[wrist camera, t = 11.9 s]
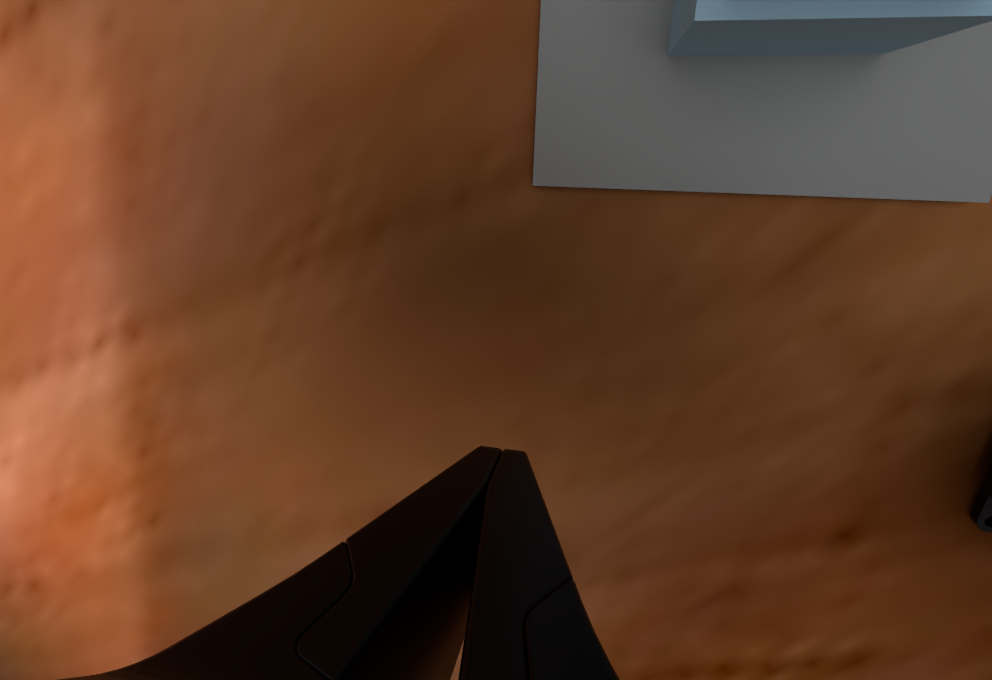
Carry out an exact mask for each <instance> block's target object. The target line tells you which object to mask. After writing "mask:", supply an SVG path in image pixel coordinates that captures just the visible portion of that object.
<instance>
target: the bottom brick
mask: <svg viewBox="0 0 992 680" xmlns="http://www.w3.org/2000/svg"><path fill="white" fill-rule="evenodd" d="M990 21H992V0H674V7H673V14H672V22H671V30H670V38H669V46H668V54H667V56H713V55H880V54H886V53H889V52H892V51H896V50H899V49H902V48H905V47H909V46H912V45H915V44H918V43H922V42H925V41H928V40H931V39H935V38H938V37H941V36H945V35H948V34H951V33H954V32H958V31H961V30H964V29H967V28H971V27H974V26H977V25H980V24H984V23H987V22H990Z"/></svg>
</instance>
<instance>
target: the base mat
mask: <svg viewBox="0 0 992 680" xmlns="http://www.w3.org/2000/svg"><path fill="white" fill-rule="evenodd" d="M673 7H674V0H541V11H540V33H539V55H538V77H537V100H536V122H535V144H534V166H533V186H555V187H582V188H608V189H635V190H662V191H689V192H715V193H742V194H769V195H795V196H822V197H849V198H876V199H902V200H929V201H956V202H982V203H989V201H990V198H991V196H992V21H990V22H987V23H984V24H980V25H977V26H974V27H971V28H967V29H964V30H961V31H958V32H954V33H951V34H948V35H945V36H941V37H938V38H935V39H931V40H928V41H925V42H922V43H918V44H915V45H912V46H909V47H905V48H902V49H899V50H896V51H892V52H889V53H886V54H880V55H713V56H667V54H668V46H669V38H670V30H671V22H672V14H673Z"/></svg>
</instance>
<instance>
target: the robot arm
mask: <svg viewBox="0 0 992 680" xmlns="http://www.w3.org/2000/svg"><path fill="white" fill-rule="evenodd" d="M991 516H992V467H991V469H990V472H989V474H988V476H987V478H986V480H985V483H984V485H983V487H982V489H981V491H980V494H979V496H978V498H977V500H976V502H975V504H974V507H973V509H972V511H971V514H970V518H971V520H972V521H973V522H974V523H975V524H976V525H977V527H978V528H980V529H981V530H982V531H986V532H991V533H992V517H991ZM988 517H991V518H990V519H988V520H986V519H987V518H988ZM464 637H465V638H464ZM463 640H464V645H463V652H462V659H461V666H460V672H459V679H458V680H619V678H618V676H617V674H616V673H615V671H614V669H613V667H612V665H611V663H610V661H609V659H608V657H607V655H606V653H605V651H604V649H603V647H602V645H601V643H600V641H599V639H598V637H597V635H596V633H595V631H594V629H593V627H592V624H591V622H590V620H589V617H588V615H587V612H586V610H585V608H584V605H583V603H582V600H581V598H580V595H579V592H578V590H577V587H576V584H575V582H574V581H573V577H572V574H571V572H570V569H569V566H568V564H567V561H566V558H565V556H564V553H563V550H562V548H561V545H560V542H559V539H558V537H557V534H556V531H555V529H554V526H553V523H552V521H551V518H550V515H549V513H548V510H547V507H546V505H545V502H544V499H543V497H542V494H541V491H540V488H539V486H538V483H537V480H536V478H535V475H534V472H533V470H532V467H531V464H530V462H529V459H528V456H527V454H526V453H525V452H524V451H517V450H509V449H505V450H503V451H502V450H501V449H499V448H493V447H486V446H480V447H478V448H476V449H475V450H473V451H472V452H470V453H469V454H467V455H466V456H465V457H463V458H462V459H460V460H459V461H457V462H456V463H455V464H453V465H452V466H450V467H449V468H447V469H446V470H445V471H443V472H442V473H440V474H439V475H437V476H436V477H435V478H433V479H432V480H430V481H429V482H427V483H426V484H424V485H423V486H422V487H420V488H419V489H417V490H416V491H414V492H413V493H412V494H410V495H409V496H407V497H406V498H404V499H403V500H402V501H400V502H399V503H397V504H396V505H394V506H393V507H392V508H390V509H389V510H387V511H386V512H384V513H383V514H381V515H380V516H379V517H377V518H376V519H374V520H373V521H371V522H370V523H369V524H367V525H366V526H364V527H363V528H361V529H360V530H359V531H357V532H356V533H354V534H353V535H351V536H350V537H349V538H347V539H346V543H345V542H341V543H340V544H338V545H337V546H335V547H334V548H332V549H331V550H330V551H328V552H327V553H325V554H324V555H322V556H321V557H319V558H318V559H316V560H315V561H313V562H312V563H310V564H309V565H307V566H306V567H304V568H303V569H301V570H300V571H298V572H297V573H295V574H294V575H292V576H290V577H289V578H287V579H285V580H284V581H282V582H280V583H279V584H277V585H275V586H274V587H272V588H270V589H269V590H267V591H265V592H264V593H262V594H260V595H259V596H257V597H255V598H253V599H252V600H250V601H248V602H247V603H245V604H243V605H241V606H240V607H238V608H236V609H234V610H233V611H231V612H229V613H227V614H226V615H224V616H222V617H220V618H219V619H217V620H215V621H213V622H212V623H210V624H208V625H207V626H205V627H203V628H201V629H200V630H198V631H196V632H194V633H193V634H191V635H189V636H187V637H186V638H184V639H182V640H180V641H179V642H177V643H175V644H174V645H172V646H170V647H168V648H166V649H164V650H163V651H161V652H159V653H157V654H155V655H153V656H151V657H149V658H146V659H144V660H142V661H140V662H137V663H135V664H132V665H129V666H126V667H124V668H121V669H118V670H114V671H110V672H105V673H101V674H96V675H90V676H83V677H74V678H66V679H58V680H450V679H451V676H452V673H453V670H454V667H455V664H456V661H457V658H458V655H459V652H460V649H461V646H462V643H463Z"/></svg>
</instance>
